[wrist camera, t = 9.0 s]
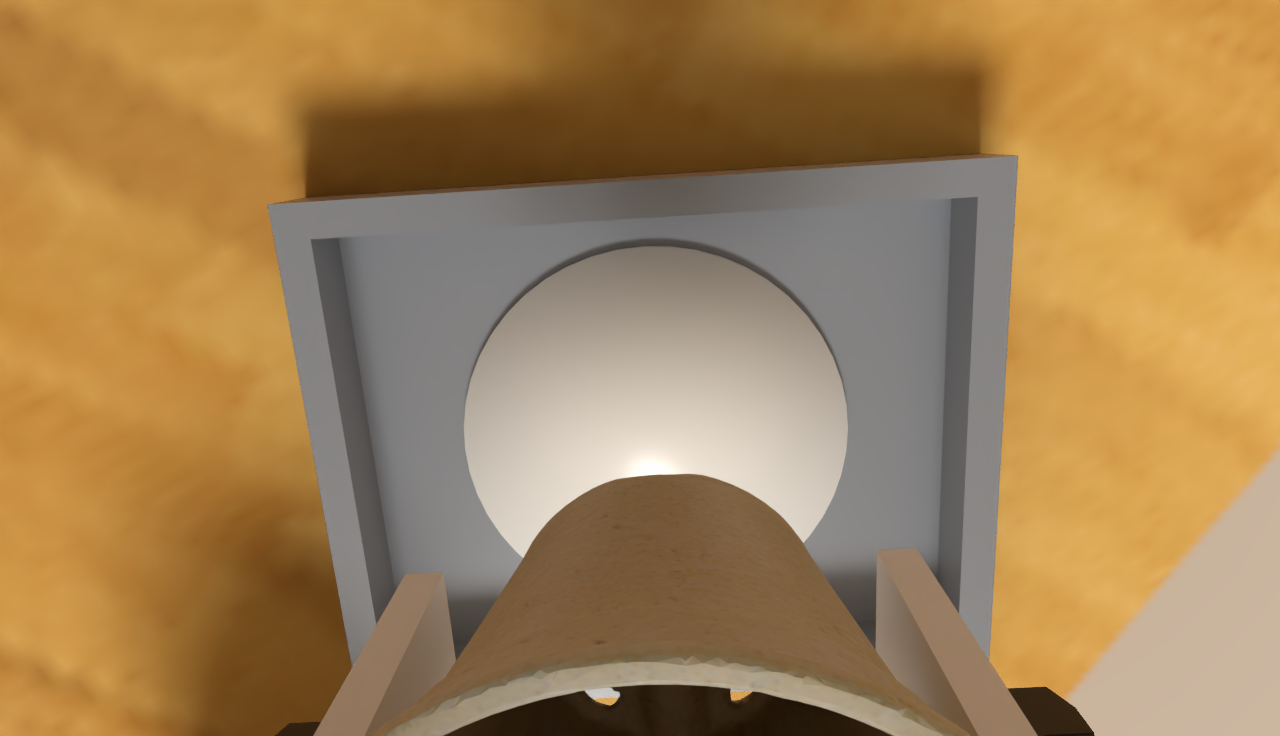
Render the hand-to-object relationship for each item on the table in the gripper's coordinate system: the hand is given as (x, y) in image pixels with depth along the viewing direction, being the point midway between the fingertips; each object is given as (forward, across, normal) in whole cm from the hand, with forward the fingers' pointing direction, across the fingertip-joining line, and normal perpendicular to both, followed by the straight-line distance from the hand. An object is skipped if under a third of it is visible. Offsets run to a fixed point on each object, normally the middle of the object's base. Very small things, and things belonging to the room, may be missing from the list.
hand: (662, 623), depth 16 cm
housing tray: (+11, 0, 0) cm, 11 cm away
